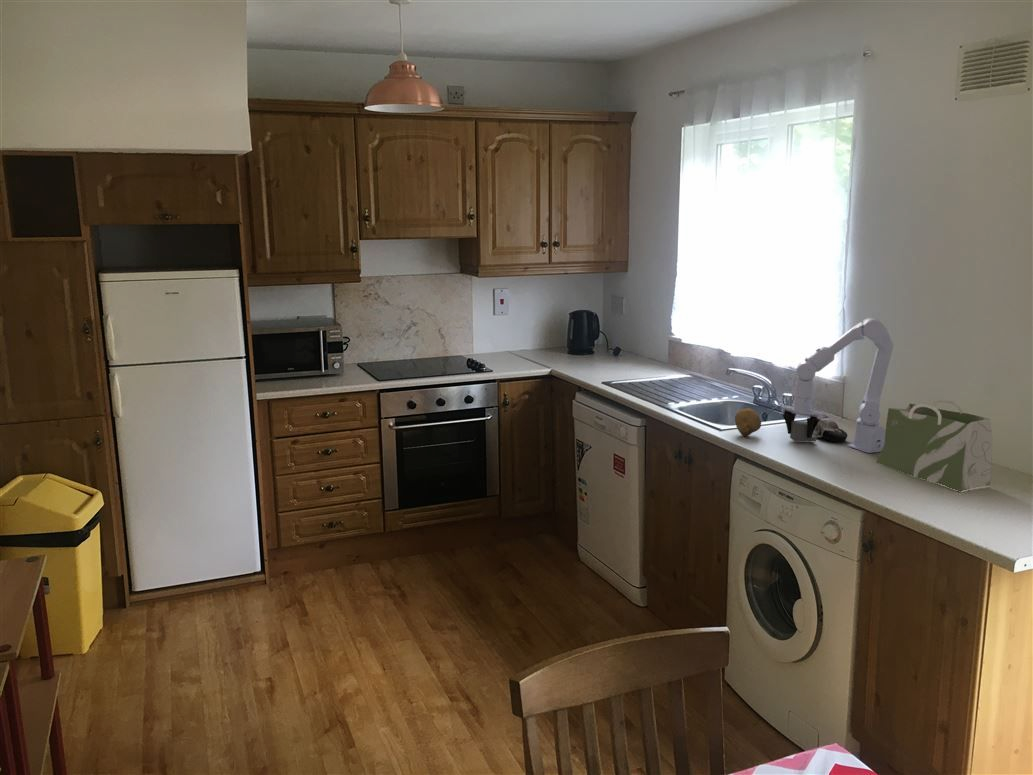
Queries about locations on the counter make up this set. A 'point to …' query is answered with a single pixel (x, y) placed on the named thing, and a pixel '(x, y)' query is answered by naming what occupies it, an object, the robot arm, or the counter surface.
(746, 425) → the natural sponge
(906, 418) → the grocery bag
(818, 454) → the counter surface
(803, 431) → the stepped grey block
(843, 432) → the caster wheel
